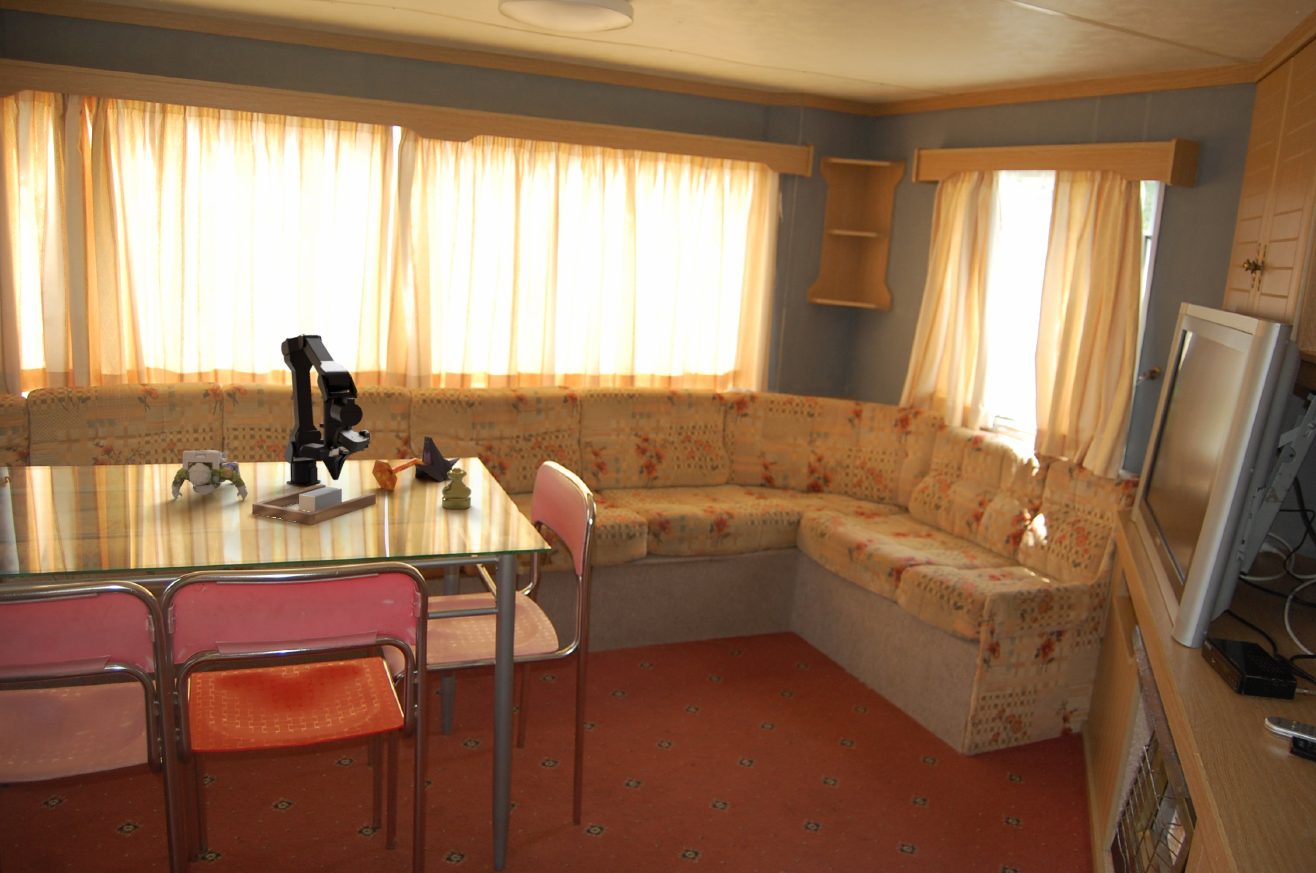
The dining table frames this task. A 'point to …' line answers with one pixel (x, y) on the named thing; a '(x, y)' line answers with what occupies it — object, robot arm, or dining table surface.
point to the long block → (320, 498)
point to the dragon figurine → (428, 466)
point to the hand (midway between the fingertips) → (335, 479)
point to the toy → (207, 472)
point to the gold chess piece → (456, 491)
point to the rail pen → (276, 509)
